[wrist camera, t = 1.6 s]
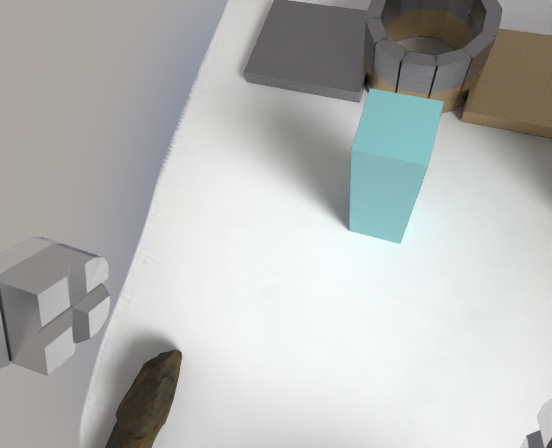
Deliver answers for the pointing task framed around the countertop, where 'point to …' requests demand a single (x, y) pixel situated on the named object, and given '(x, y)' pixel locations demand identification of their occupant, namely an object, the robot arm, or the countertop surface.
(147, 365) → the hand tool
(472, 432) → the countertop surface
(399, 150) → the teal square block
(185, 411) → the countertop surface
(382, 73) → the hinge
